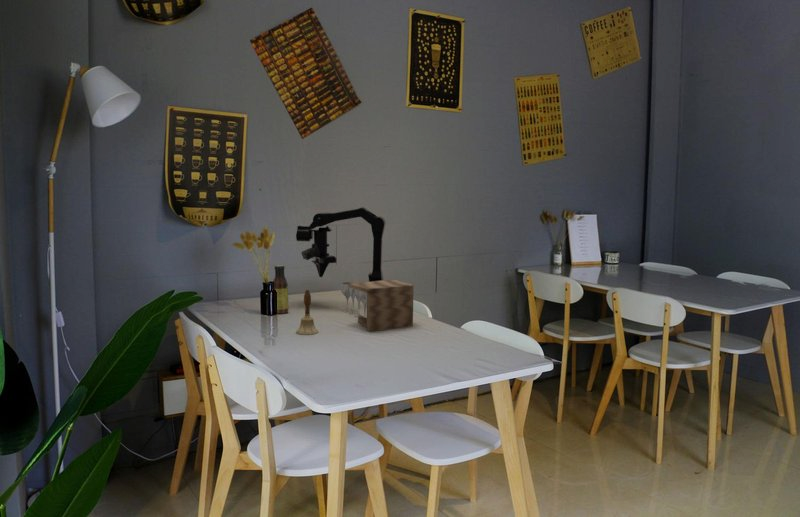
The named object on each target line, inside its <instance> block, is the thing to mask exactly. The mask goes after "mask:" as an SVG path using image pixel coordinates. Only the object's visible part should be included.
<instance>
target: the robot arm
mask: <svg viewBox="0 0 800 517" xmlns="http://www.w3.org/2000/svg"><path fill="white" fill-rule="evenodd" d="M355 218H362V219H363V220H364V221H365V222H367V223H368V224H369V225H370V226H371V233H372V238H373V245H372V246H373V250H372V255H373V256H372V271H371V272H369V273H368V275H367V276H368V282H371V281H382V280H384V275H383V270H382V266H383V265H382V263H383V262H382V261H383V237H384V232H385V230H386V228H385V227H386V223H387V222H386V219H385V218H384V217H383V216H380V215H378V216H377V215H376V214H374V213H373V212H371V211H370V210H368V209H367V208H366V207H361V206H360V207H359V208H354V209H353V208H352V209H348V210H342V211H336V212H317V213H316V214H315V215H313V217H312V222H311V224H309V225H297V228H296V229H297V230H296V233H295V236H296V237H295V238H296V242H311V240H313V243H312V244H311V247H309V248H307V249H305V250H303V251H301V252H300V254H301V255H302V259H303V260H306V261H309V260H310V259H312V260H311V262H312V263H313V264H314V265H315V267H316V270H317V273H318V277H319V278H322V277H323V276H324V275H325V272H326V270H327V268H328V267H329V264H335V263H337V257H336V256H335V255H332V254H331V255H330V253H328V247H330V243H328V232H332V230H333V229H331V227H330V226H329V224H331V223H335V222H339V221H343V220H344V221H345V220H350V219H355ZM324 226H325V227H324ZM316 228H318V229H316Z"/></svg>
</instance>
